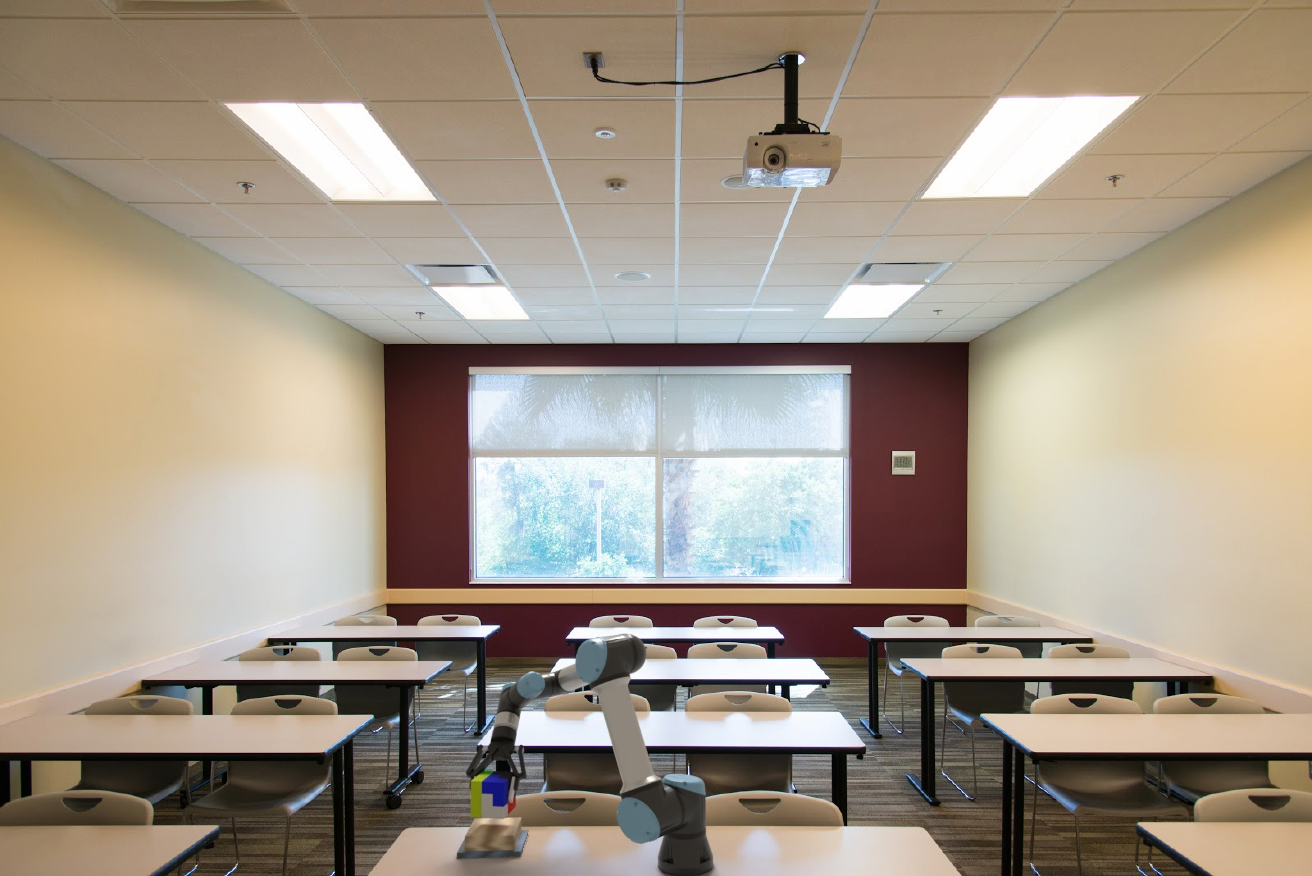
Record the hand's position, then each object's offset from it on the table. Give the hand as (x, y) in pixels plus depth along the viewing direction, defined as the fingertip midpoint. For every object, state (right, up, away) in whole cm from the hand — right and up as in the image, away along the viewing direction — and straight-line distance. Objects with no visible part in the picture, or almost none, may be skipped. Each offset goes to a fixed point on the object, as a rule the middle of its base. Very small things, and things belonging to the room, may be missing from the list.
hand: (491, 800), depth 232 cm
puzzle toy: (0, -5, +2) cm, 5 cm away
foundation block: (+1, -14, +1) cm, 14 cm away
